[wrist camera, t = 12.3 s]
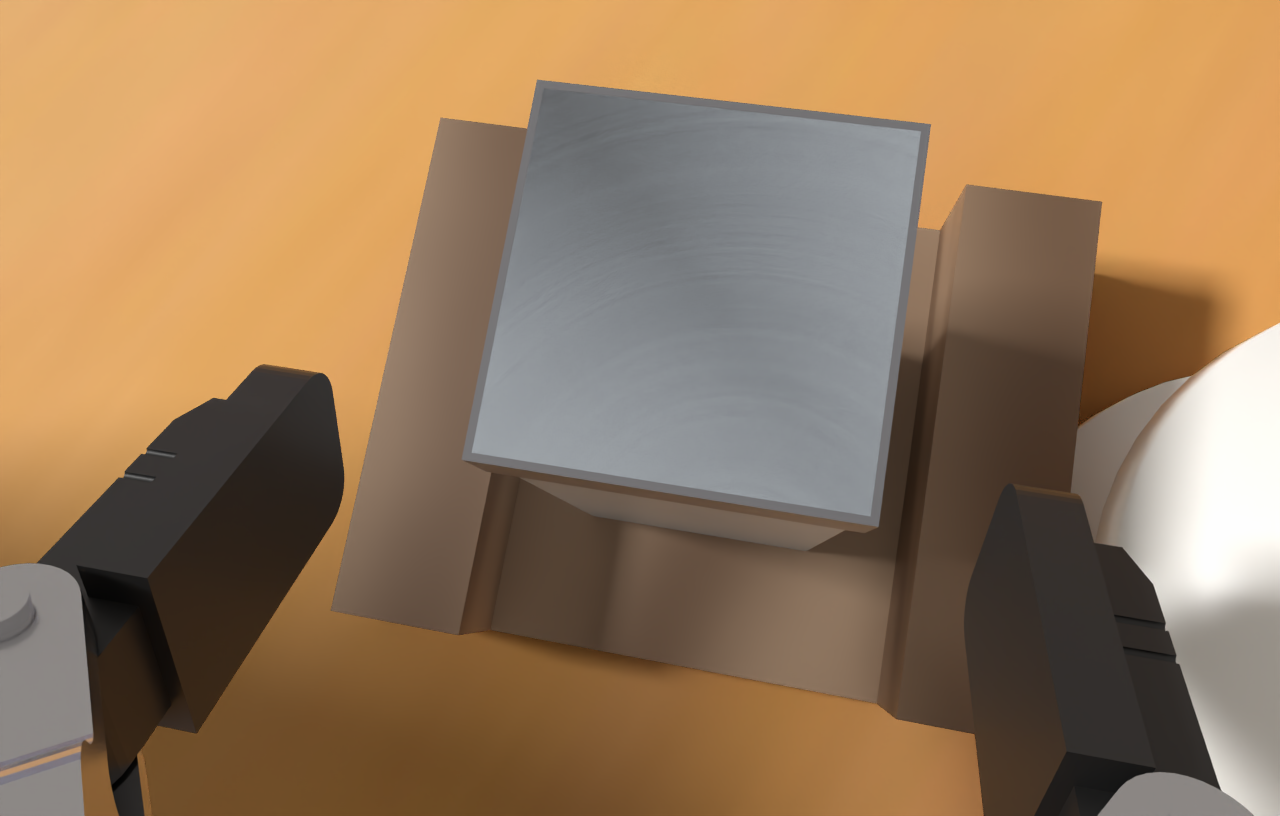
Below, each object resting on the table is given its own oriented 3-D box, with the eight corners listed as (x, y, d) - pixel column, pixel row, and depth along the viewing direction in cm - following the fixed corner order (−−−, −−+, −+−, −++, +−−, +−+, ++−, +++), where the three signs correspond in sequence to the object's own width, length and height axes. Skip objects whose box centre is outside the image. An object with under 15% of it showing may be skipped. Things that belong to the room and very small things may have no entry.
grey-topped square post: (810, 556, 21) (878, 526, 11) (587, 520, 21) (461, 459, 11) (841, 337, 21) (930, 124, 12) (624, 306, 22) (537, 80, 12)
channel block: (374, 603, 23) (305, 606, 19) (464, 186, 24) (417, 114, 21) (1014, 724, 21) (1073, 753, 17) (1065, 267, 22) (1129, 205, 19)
